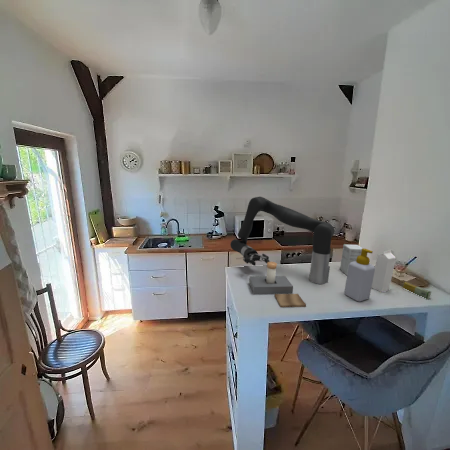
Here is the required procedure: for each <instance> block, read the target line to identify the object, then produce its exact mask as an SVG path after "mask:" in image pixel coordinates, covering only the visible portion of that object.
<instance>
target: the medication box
mask: <svg viewBox="0 0 450 450" xmlns="http://www.w3.org/2000/svg"><path fill="white" fill-rule="evenodd" d="M403 288H405V289H407V290H409V291H411V292H413V293H415V294H417V295H416V296H418V295H419V296H418V297H420V296H422V297H424V298H423V299H425V298H426V299H425V300H430V299H431V296H432V291H431V290H427V289H425V288H423V287H420V286H418V285H415V284H413V283H411V282H408V281H405V282H403V286H402V289H403ZM409 291H408V292H409ZM411 292H410V293H411ZM413 293H412V294H413ZM415 294H414V295H415ZM422 297H421V298H422ZM429 298H430V299H429Z"/></svg>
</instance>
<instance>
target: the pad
mask: <svg viewBox="0 0 450 450" xmlns="http://www.w3.org/2000/svg"><path fill="white" fill-rule="evenodd" d="M273 295H274V296H273V297H274V299H275V300H276V302H277V303H278V305H279V307H280V308H305V307H307V304H306V302H305V301H304V300H303V298H302V297H301V296H300V294H299V293H292V294H273Z"/></svg>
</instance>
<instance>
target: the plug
mask: <svg viewBox="0 0 450 450" xmlns="http://www.w3.org/2000/svg"><path fill="white" fill-rule="evenodd" d="M277 266H278V263H277V262H275V261H269V262H268V263H266V268H267V269H266V276H267V278H266V283H267V284H275V276H276V275H277V274H276V273H277V272H276V271H277Z"/></svg>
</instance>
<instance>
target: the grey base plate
mask: <svg viewBox="0 0 450 450" xmlns="http://www.w3.org/2000/svg"><path fill="white" fill-rule="evenodd" d="M266 278H267V275H266V276H265V275H261V276H259V275H258V276H257V275H256V276H254V275H252V276H249V280H248V281H249V282H248V284H249V287H250V288H251V291H252V294H253V295H275V294H294V293H293V292H294V285H293V284H292V283H291V281H290V280H289V279H288V277H287V276H286V275H275V284H267V283H266Z"/></svg>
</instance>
